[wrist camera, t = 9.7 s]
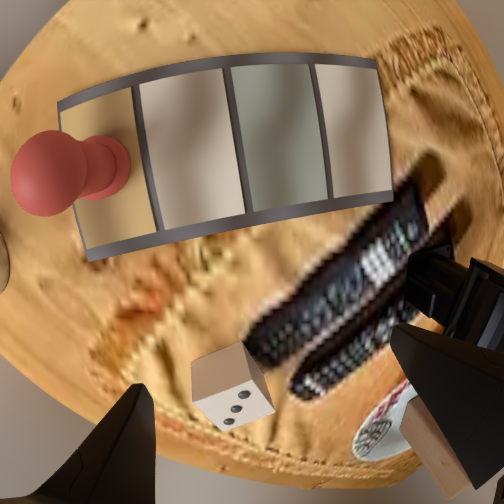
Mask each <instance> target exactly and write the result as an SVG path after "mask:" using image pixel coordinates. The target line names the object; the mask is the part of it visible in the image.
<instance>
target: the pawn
mask: <svg viewBox="0 0 504 504" xmlns="http://www.w3.org/2000/svg"><path fill="white" fill-rule="evenodd" d="M130 171H131V159H130V155H129V152H128V150H127V148H126V147H125V146H124V145H123V144H122V143H121V142H120V141H118V140H116V139H114V138H111V137H107V136H101V135H96V136H91V137H89V138H86V139H85V140H83V141H79V140H76V139H75V138H73V137H72V136H71V135H69V134H67V133H65V132H62V131H57V130H49V131H44V132H41V133H38V134H36V135H34V136H33V137H31V138H30V139H29V140H27V141H26V142H25V143H24V144H23V145H22V147H21V148H20V149H19V151H18V153H17V155H16V156H15V159H14V161H13V164H12V168H11V188H12V192H13V194H14V197H15V199H16V200H17V202H18V203H19V205H20V206H21V207H22V208H23V209H24V210H26V211H27V212H29V213H31V214H33V215H37V216H43V217H45V216H52V215H56V214H59V213H61V212H63V211H64V210H66V209H67V208H68V207H70V206H71V205H72V204H73V203H74V202H75V200H77V199H80V198H84V199H87V200H91V201H97V200H102V199H104V198H107V197H109V196H112V195H114V194H116V193H117V192H119V191H120V190H121V189H122V188H123V186H124V185H125V184H126V182H127V180H128V178H129V175H130Z"/></svg>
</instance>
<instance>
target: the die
mask: <svg viewBox="0 0 504 504" xmlns="http://www.w3.org/2000/svg"><path fill="white" fill-rule="evenodd" d="M191 381H192V403H193V404H194V405H195V406H196V407H197V408H198V409H199V410H200V411H201V412H202V413H203V414H204V415H206V416H207V417H208V418H209V419H210V420H211V421H212V422H213V423H214V424H215V425H216V426H217V427H218V428H219V429H221V430H222V431H226V430H229V429H232V428H235V427H238V426H241V425H244V424H246V423H249V422H252V421H254V420H257V419H260V418H262V417H265V416H267V415H270V414H272V413H274V412H276V411H275V409H274V406H273V403H272V400H271V397H270V394H269V391H268V388H267V385H266V382H265V379H264V376H263V374H262V372H261V371H260V369H259V368H258V366H257V364H256V363H255V361H254V360H253V358H252V357H251V355H250V354H249V352H248V350H247V349H246V347H245V346H244V344H243V342H242V341H239V342H237V343H235V344H232V345H230V346H228V347H226V348H223V349H221V350H219V351H216V352H214V353H212V354H209V355H207V356H204V357H202V358H200V359H197V360H195V361H192V362H191Z"/></svg>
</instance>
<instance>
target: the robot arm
mask: <svg viewBox="0 0 504 504" xmlns="http://www.w3.org/2000/svg"><path fill="white" fill-rule="evenodd" d="M450 249H451V246H450V245H449V244H443V245H440V246H437V247H434V248H430V249H427V250H424V251H421V252H418V253H414V254H412V255H410V257H409V259H408V270H407V280H406V290H405V298H404V305H403V310H404V311H405V312H409V311H412V310H414V309H416V308H417V309H418V310H419V311H421V312H422V313H423V314H424V315H426V316H427V317H428V318H432V319H434V320H435V321H436V322H437V323H439V324H440V325H441V326H442V327H444V329H443V331H442V333H441V334H438V333H435V332H432V331H429V330H426V329H423V328H419V327H416V326H413V325H410V324H407V323H404V322H402V323H399V324H396V325H394V327H393V329H392V334H391V340H390V346H391V349H392V351H393V353H394V354H395V356H396V358H397V360H398V362H399V364H400V366H401V368H402V369H403V371H404V373H405V375H406V377H407V378H408V380H409V382H410V383H411V385H412V386H413V388H414V389H415V391H416V392H417V394H418V395H419V397H420V398H421V400H422V401H423V403H424V404H425V406H426V407H427V409H428V410H429V412H430V414H431V415H432V417H433V418H434V420H435V422H436V423H437V425H438V426H439V428H440V430H441V431H442V433H443V434H444V436H445V438H446V439H447V441H448V443H449V444H450V446H451V448H452V449H453V451H454V453H456V454H455V455H456V457H457V458H458V460H459V462H460V463H461V465H462V467H463V469H464V471H465V472H466V474H467V476H468V478H469V480H470V481H471V483H472V485H473V487H474V489H475V490H477V489H478V488H479V487H481V486H482V485H483V484H485V483H486V482H487V481H488V480H489V479H490V478H492V477H493V476H494V475H495V474H496V473H497V472H499V471H500V470H501V469H502V468H503V467H504V269H503V268H500V267H498V266H496V265H494V264H492V263H490V262H487V261H483V260H480V259H476V258H473V257H471V260H470V265H469V268H467V267H465V266H463V265H461V264H459V263H457V262H455V261H453V260H451V259H449V258H450ZM155 459H156V432H155V417H154V402H153V399H152V397H151V395H150V393H149V392H148V390H147V388H146V386H145V385H144V384H143V383H138V384H132V385H131V386H130V387H129V388H128V389H127V391H126V392H125V393H124V394H123V395H122V396H121V398H120V399H119V400H118V401H117V402H116V403H115V405H114V406H113V407H112V408H111V409H110V410H109V412H108V413H107V414H106V415H105V416H104V418H103V419H102V420H101V421H100V422H99V423H98V425H97V426H96V427H95V428H94V429H93V430H92V432H91V433H90V434H89V435H88V436H87V438H86V439H85V440H84V441H83V442H82V443H81V445H80V446H79V447H78V449H76V451H75V452H74V453H73V454H72V455H71V456H70V457H69V459H68V460H67V461H66V462H65V463H64V464H63V465H62V466H61V467H60V468H59V469H58V470H57V471H56V472H55V473H54V474H53V475H52V476H51V477H50V478H49V479H48V480H47V481H46V482H44V483H43V484H42V485H41V486H40V487H39V488H38V489H37V490H36V491H34V492H33V493H31V494H29V495H27V496H24V497H16V498H6V499H0V504H155ZM493 504H504V475H503V476H502V477H501V478H500V479H499V480H498V483H497V488H496V493H495V497H494V502H493Z"/></svg>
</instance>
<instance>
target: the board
mask: <svg viewBox="0 0 504 504" xmlns="http://www.w3.org/2000/svg"><path fill="white" fill-rule="evenodd" d="M57 109H58V121H59V131H62V132H65V133H67V134H69V135H71V136H72V137H73V138H75V139H76V140H79V141H83V140H85V139H86V138H89V137H91V136H96V135H101V136H107V137H111V138H114V139H116V140H118V141H120V142H121V143H122V144H123V145H124V146H125V147H126V148H127V150H128V152H129V155H130V159H131V171H130V175H129V178H128V180H127V182H126V184H125V185H124V186H123V188H122V189H121V190H120V191H119V192H117V193H116V194H114V195H112V196H109V197H107V198H104V199H102V200H97V201H91V200H87V199H84V198H80V199H77V200H75V202H74V203H73V204H72V205H73V209H74V213H75V217H76V221H77V225H78V228H79V232H80V235H81V239H82V242H83V245H84V249H85V252H86V255H87V258H88V261H89V262H91V261H95V260H99V259H103V258H108V257H112V256H116V255H120V254H125V253H129V252H133V251H138V250H142V249H146V248H151V247H155V246H160V245H164V244H169V243H173V242H178V241H183V240H187V239H192V238H197V237H202V236H206V235H211V234H216V233H221V232H226V231H231V230H235V229H240V228H245V227H251V226H256V225H261V224H266V223H271V222H276V221H282V220H287V219H292V218H298V217H303V216H308V215H314V214H319V213H325V212H331V211H336V210H342V209H348V208H354V207H360V206H366V205H372V204H378V203H384V202H390V201H393V179H392V164H391V152H390V142H389V134H388V126H387V118H386V112H385V105H384V99H383V94H382V88H381V83H380V78H379V73H378V69H377V64H376V60H374V59H368V58H361V57H353V56H344V55H333V54H319V53H255V54H241V55H230V56H221V57H213V58H205V59H199V60H193V61H187V62H181V63H176V64H171V65H167V66H162V67H158V68H154V69H150V70H146V71H142V72H138V73H135V74H131V75H128V76H124V77H121V78H118V79H115V80H112V81H109V82H106V83H103V84H100V85H97V86H94V87H92V88H89V89H86V90H84V91H81V92H79V93H76V94H74V95H72V96H69V97H67V98H65V99H62V100H60V101H58V102H57Z"/></svg>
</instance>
